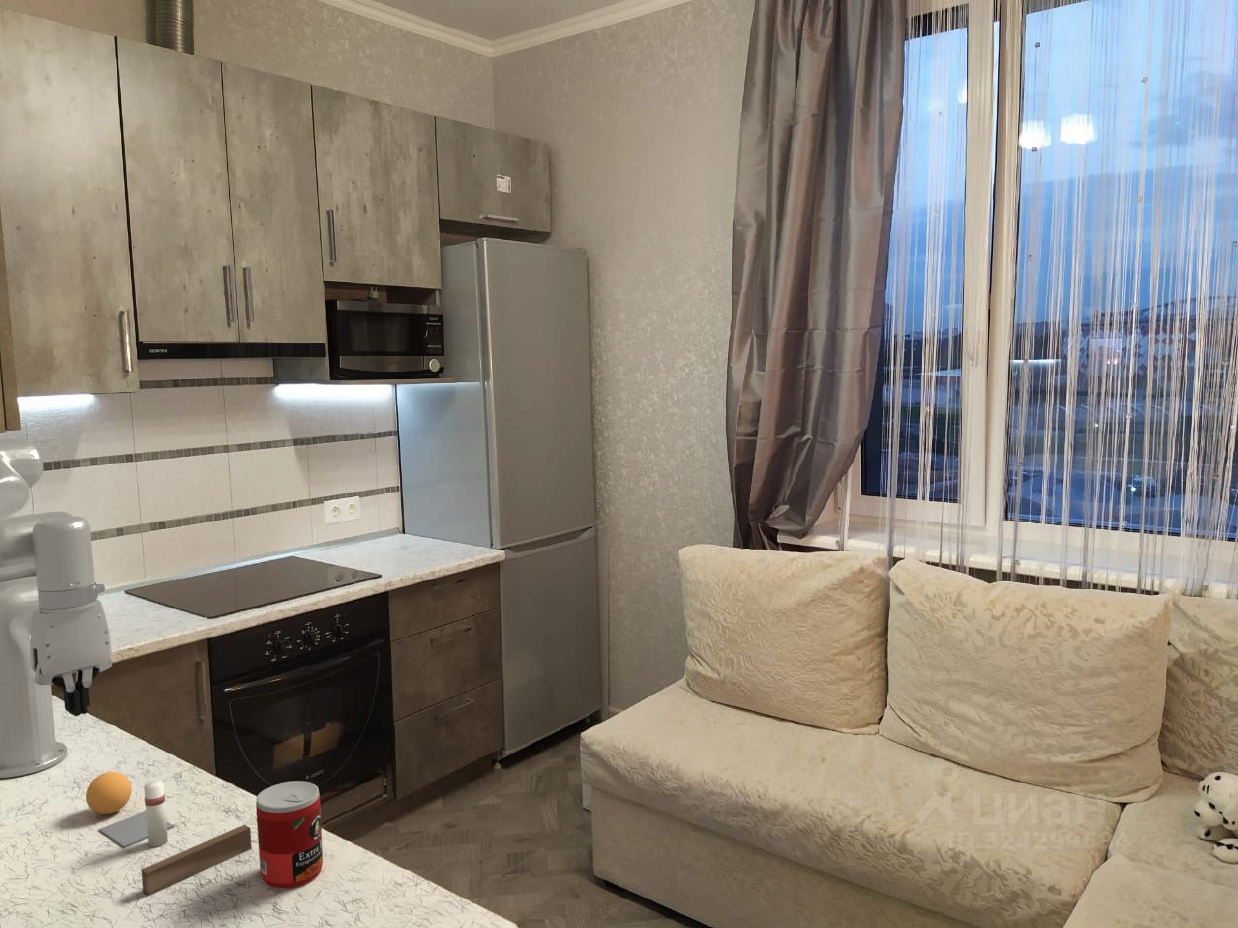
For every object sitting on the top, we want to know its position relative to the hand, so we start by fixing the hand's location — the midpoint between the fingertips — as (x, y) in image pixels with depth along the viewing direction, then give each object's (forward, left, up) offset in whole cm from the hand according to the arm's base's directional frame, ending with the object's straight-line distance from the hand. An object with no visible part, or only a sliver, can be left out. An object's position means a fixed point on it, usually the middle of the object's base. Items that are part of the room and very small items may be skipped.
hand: (78, 712), depth 140 cm
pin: (+24, 0, -13) cm, 28 cm away
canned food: (+47, +7, -14) cm, 49 cm away
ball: (+9, 0, -10) cm, 14 cm away
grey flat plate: (+18, 0, -13) cm, 22 cm away
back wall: (+36, 0, -13) cm, 38 cm away
